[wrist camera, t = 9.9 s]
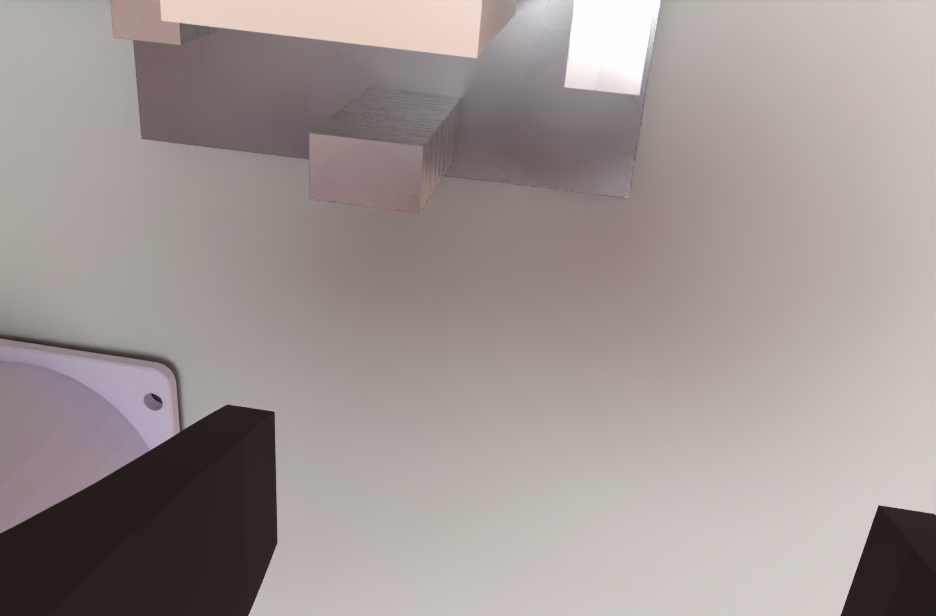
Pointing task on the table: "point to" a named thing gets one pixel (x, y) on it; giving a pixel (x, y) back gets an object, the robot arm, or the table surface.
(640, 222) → the table surface
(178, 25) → the grey peg tray
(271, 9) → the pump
